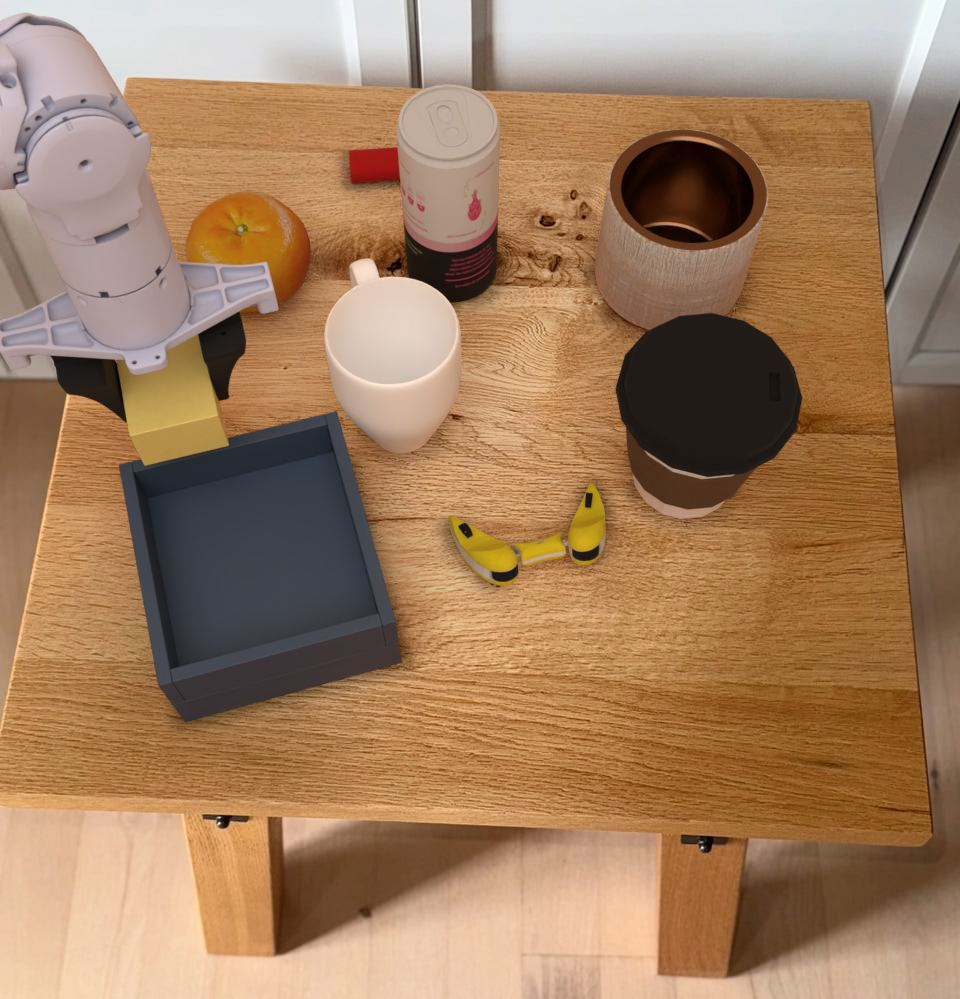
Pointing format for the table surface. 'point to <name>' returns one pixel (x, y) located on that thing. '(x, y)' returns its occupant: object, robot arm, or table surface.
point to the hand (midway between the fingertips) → (174, 397)
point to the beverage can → (450, 189)
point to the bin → (258, 568)
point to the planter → (678, 226)
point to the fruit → (253, 239)
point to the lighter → (374, 165)
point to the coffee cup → (704, 410)
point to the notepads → (173, 407)
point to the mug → (393, 357)
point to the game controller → (533, 544)
